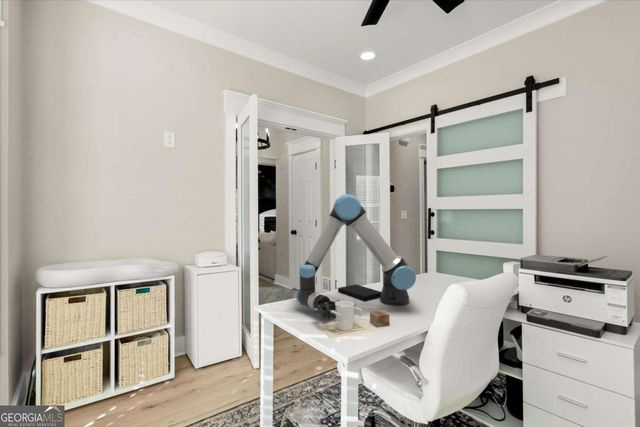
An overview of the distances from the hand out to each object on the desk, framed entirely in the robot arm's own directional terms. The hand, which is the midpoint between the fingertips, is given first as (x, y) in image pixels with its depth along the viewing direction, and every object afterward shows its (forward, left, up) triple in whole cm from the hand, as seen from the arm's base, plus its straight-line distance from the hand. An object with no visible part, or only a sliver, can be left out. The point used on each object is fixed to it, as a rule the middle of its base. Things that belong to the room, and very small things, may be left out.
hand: (352, 315), depth 125 cm
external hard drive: (-28, -46, -7) cm, 54 cm away
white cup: (+1, -4, -6) cm, 8 cm away
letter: (+1, -4, -6) cm, 8 cm away
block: (-14, -2, -7) cm, 16 cm away
